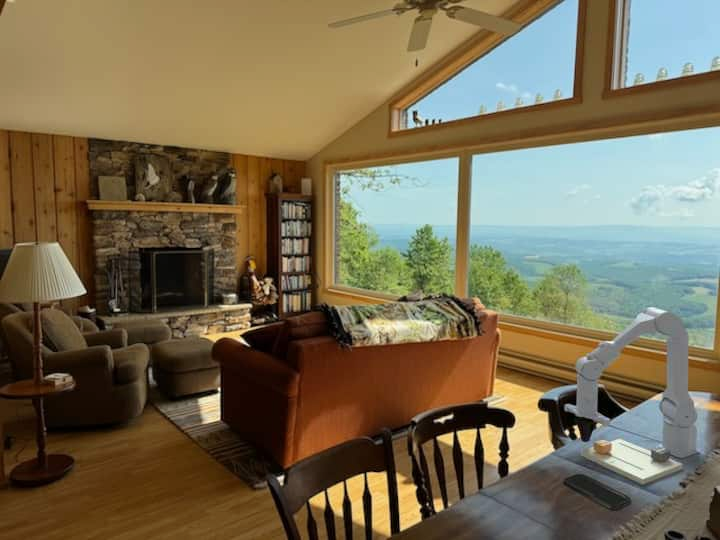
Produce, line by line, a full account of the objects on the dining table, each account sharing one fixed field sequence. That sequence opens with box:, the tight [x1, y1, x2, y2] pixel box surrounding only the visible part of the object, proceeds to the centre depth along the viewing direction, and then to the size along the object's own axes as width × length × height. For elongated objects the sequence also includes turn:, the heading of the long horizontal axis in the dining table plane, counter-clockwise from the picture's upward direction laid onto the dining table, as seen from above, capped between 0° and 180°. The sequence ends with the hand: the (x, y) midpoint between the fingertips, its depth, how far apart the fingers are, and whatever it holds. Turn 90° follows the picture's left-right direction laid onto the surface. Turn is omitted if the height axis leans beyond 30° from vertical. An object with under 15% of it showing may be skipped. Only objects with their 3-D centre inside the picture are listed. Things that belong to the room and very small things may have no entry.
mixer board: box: [580, 438, 683, 485], centre depth 143 cm, size 18×19×2 cm
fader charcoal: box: [650, 447, 671, 462], centre depth 141 cm, size 4×3×2 cm
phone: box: [562, 473, 632, 510], centre depth 127 cm, size 8×1×15 cm
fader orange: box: [593, 439, 612, 454], centre depth 146 cm, size 4×3×2 cm
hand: (585, 440), depth 152 cm, fingers closed
